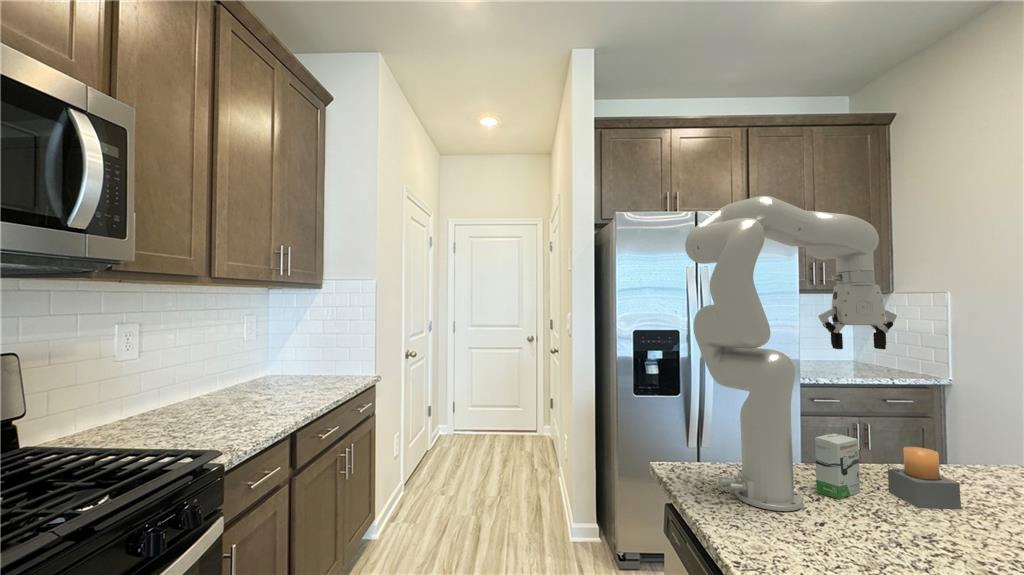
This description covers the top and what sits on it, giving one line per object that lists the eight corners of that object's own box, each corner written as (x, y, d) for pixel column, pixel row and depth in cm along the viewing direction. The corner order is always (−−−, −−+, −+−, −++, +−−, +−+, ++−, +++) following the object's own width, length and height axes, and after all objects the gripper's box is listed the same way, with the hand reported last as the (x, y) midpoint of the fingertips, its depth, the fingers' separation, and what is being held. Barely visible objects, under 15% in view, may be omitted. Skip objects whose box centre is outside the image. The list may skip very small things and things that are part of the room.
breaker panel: (918, 507, 92) (916, 479, 92) (888, 491, 100) (887, 465, 100) (961, 508, 91) (959, 480, 91) (928, 493, 99) (926, 466, 99)
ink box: (839, 500, 95) (837, 443, 96) (815, 492, 100) (812, 437, 100) (862, 492, 99) (859, 437, 100) (837, 485, 104) (834, 432, 104)
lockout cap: (918, 479, 93) (916, 454, 93) (897, 469, 98) (896, 446, 99) (947, 479, 93) (945, 454, 93) (925, 470, 98) (923, 446, 98)
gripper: (826, 279, 110) (830, 350, 109) (904, 278, 108) (908, 350, 107) (810, 281, 118) (812, 347, 117) (882, 280, 116) (885, 347, 115)
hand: (858, 348), depth 112 cm, fingers open, 9 cm apart
